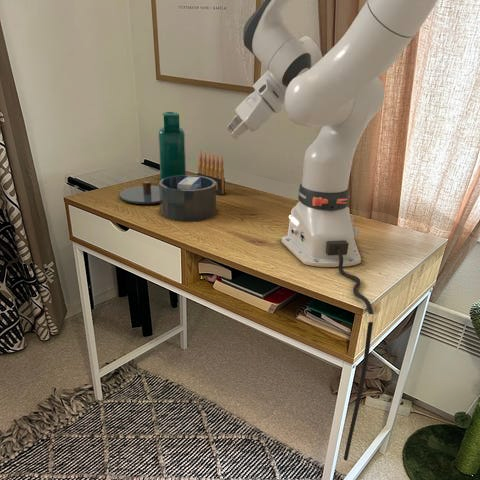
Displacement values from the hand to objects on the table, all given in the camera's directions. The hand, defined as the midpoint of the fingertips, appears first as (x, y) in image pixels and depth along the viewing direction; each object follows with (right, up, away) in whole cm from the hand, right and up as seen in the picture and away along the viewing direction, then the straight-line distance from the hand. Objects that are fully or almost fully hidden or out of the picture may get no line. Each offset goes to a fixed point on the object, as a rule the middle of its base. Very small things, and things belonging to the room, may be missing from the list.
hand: (230, 133), depth 131 cm
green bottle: (-20, -3, +35) cm, 41 cm away
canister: (-12, -19, +9) cm, 24 cm away
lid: (-26, -12, +19) cm, 34 cm away
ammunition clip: (-7, -9, +27) cm, 29 cm away
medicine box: (-12, -19, +9) cm, 24 cm away
